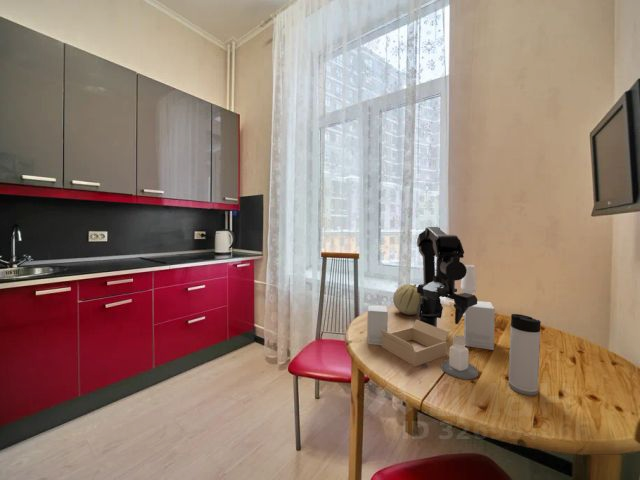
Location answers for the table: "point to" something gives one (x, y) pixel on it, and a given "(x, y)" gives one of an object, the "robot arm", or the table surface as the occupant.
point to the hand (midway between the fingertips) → (444, 319)
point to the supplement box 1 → (376, 324)
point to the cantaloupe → (407, 299)
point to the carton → (421, 334)
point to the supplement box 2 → (479, 325)
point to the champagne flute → (469, 280)
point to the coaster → (465, 374)
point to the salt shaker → (458, 354)
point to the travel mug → (524, 354)
